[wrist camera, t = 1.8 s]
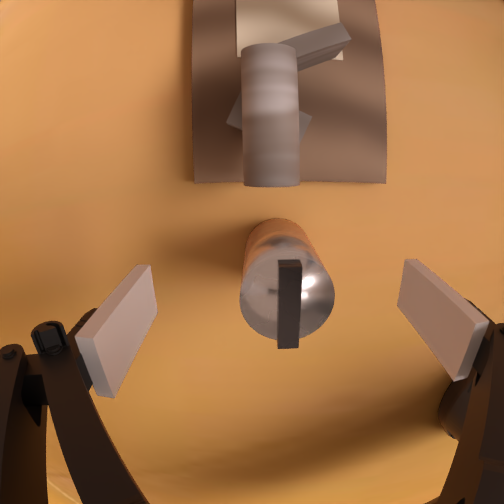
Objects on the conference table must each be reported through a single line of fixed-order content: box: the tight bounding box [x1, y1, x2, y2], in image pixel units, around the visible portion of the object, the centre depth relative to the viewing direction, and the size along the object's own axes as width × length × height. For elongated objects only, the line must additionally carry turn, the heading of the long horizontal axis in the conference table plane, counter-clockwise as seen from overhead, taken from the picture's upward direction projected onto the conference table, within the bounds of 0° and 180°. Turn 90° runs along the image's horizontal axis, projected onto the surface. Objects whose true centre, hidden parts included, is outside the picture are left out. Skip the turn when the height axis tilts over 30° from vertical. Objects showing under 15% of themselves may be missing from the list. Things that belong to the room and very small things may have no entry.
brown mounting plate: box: [192, 0, 387, 187], centre depth 14 cm, size 22×13×6 cm, turn 1°
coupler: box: [240, 218, 335, 349], centre depth 18 cm, size 5×5×9 cm
